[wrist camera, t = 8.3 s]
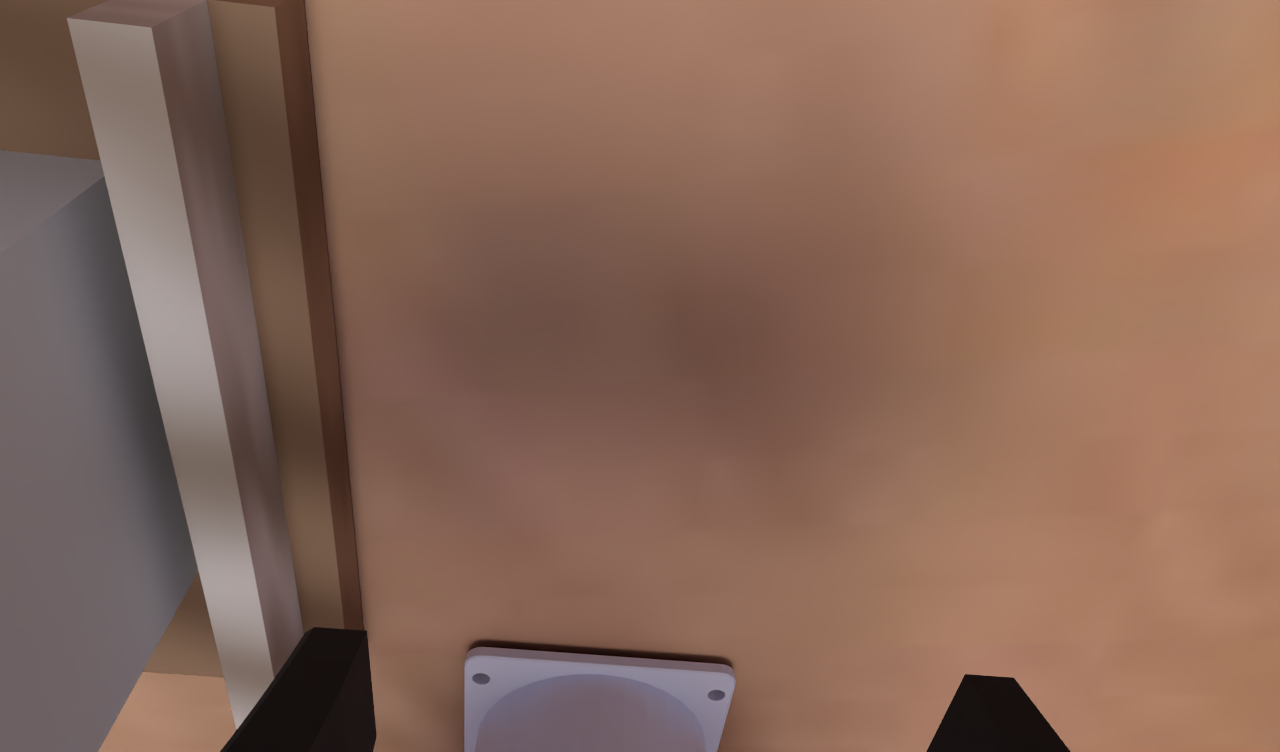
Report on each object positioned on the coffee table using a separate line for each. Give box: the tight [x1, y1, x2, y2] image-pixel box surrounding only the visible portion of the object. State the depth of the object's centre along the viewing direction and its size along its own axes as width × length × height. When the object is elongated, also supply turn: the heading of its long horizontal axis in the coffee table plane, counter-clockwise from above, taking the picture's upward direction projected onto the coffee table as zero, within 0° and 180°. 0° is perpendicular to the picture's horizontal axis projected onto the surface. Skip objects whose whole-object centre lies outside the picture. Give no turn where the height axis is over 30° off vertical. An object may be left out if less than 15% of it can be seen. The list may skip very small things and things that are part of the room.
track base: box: [0, 0, 364, 730], centre depth 19 cm, size 18×9×4 cm, turn 174°
